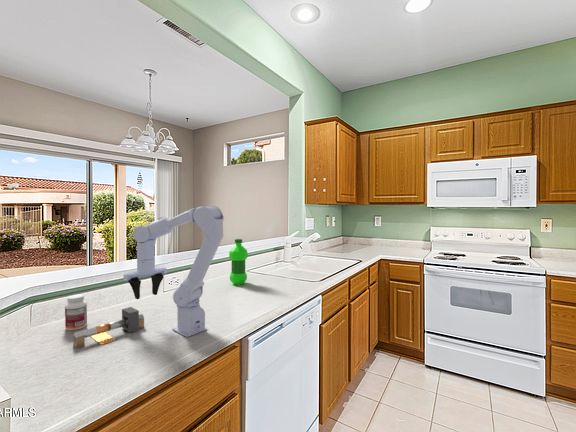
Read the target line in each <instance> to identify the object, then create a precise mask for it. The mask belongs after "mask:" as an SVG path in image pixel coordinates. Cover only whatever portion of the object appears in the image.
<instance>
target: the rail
mask: <svg viewBox="0 0 576 432" xmlns="http://www.w3.org/2000/svg"><path fill="white" fill-rule="evenodd" d="M144 317H145V316H144V314H143V313H140V314H139V330H140V329H144V328H145V318H144ZM127 325H128V318H126V319H122V318H121V319H118V320H115V321H112V322H111V321H110V322H107V323H104V324H101V325H97V326H94V327H91V328H87V329H83V330H80V331H76V332H73V335H72V336H73V339H72V340H73V342H72V343H73V344H72V345H73V347H74V348H75V349H76V350H78V349H80V348H83V347H85V339H86V338H92V340H94V341H96V342H97V343H98V344H99V345H100V346H103V345H105V344H108V343H111V342H114V341H116V339H115V338H114V337H112V336H111V335H109V334H108V333H107V332H110V331H113V330H116V329H120V328H122V327H124V326H127Z"/></svg>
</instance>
